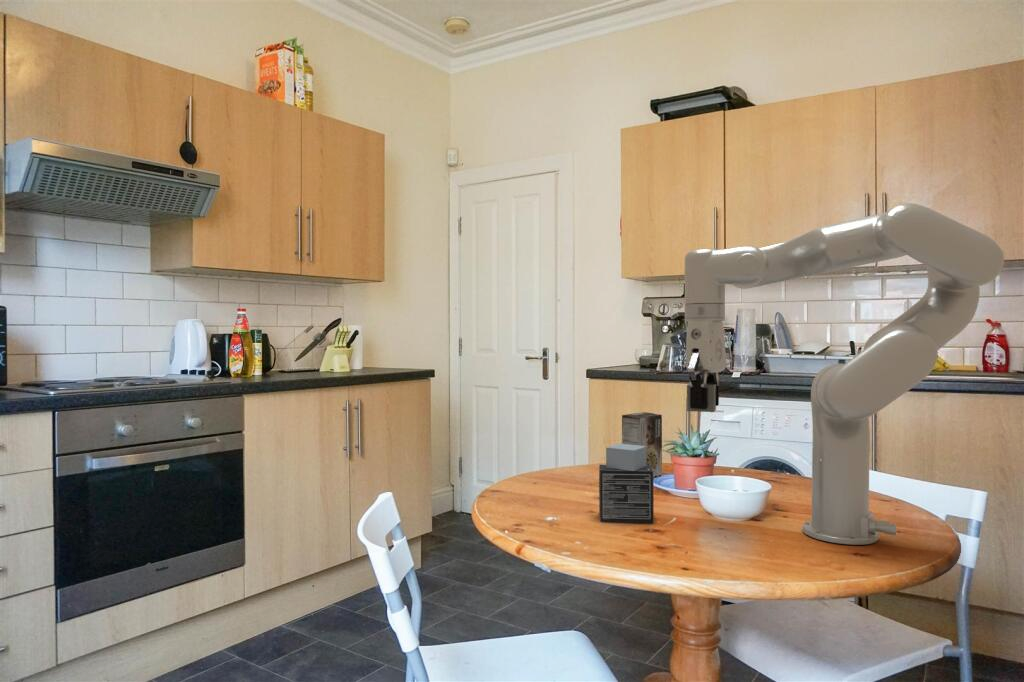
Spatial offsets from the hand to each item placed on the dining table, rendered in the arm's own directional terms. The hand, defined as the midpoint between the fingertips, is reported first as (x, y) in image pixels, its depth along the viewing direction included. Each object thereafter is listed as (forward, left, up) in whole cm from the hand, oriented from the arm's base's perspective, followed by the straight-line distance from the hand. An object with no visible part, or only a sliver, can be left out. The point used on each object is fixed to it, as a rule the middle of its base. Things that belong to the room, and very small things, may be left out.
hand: (704, 406), depth 131 cm
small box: (+14, +5, -23) cm, 28 cm away
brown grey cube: (+1, 0, -1) cm, 1 cm away
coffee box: (+28, -34, -23) cm, 50 cm away
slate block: (+14, +5, -13) cm, 20 cm away
